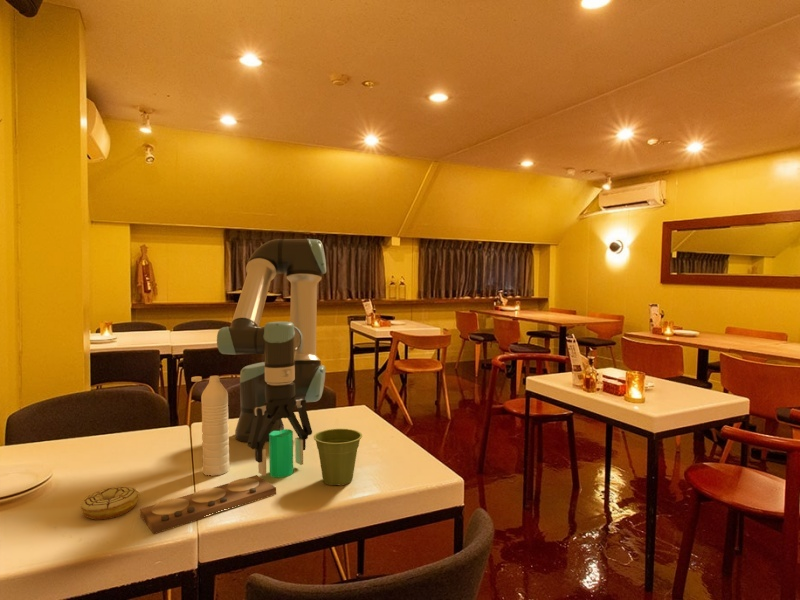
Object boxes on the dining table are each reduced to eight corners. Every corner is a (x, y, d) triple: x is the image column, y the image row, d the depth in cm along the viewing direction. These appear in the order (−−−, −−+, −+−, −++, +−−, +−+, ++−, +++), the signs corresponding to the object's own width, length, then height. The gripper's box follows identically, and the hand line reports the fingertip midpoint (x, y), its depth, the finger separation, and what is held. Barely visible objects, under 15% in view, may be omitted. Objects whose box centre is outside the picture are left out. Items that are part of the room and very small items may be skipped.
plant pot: (349, 493, 110) (348, 445, 110) (304, 486, 114) (304, 440, 114) (370, 474, 121) (369, 430, 121) (328, 468, 125) (328, 426, 125)
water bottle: (229, 465, 128) (227, 372, 127) (229, 474, 122) (227, 377, 121) (194, 469, 125) (192, 375, 125) (192, 479, 119) (190, 379, 118)
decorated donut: (113, 497, 110) (113, 481, 110) (149, 503, 107) (149, 486, 106) (69, 518, 100) (68, 500, 100) (107, 525, 97) (107, 507, 97)
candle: (296, 468, 125) (295, 423, 125) (289, 478, 120) (288, 430, 119) (274, 468, 126) (273, 423, 126) (265, 477, 120) (265, 430, 120)
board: (140, 515, 100) (139, 505, 100) (256, 480, 118) (256, 472, 118) (153, 533, 93) (153, 523, 93) (276, 493, 110) (275, 485, 110)
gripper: (244, 391, 112) (246, 485, 112) (325, 378, 127) (326, 461, 127) (231, 386, 117) (233, 476, 118) (310, 374, 132) (311, 454, 133)
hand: (281, 468), depth 123 cm, fingers open, 10 cm apart
